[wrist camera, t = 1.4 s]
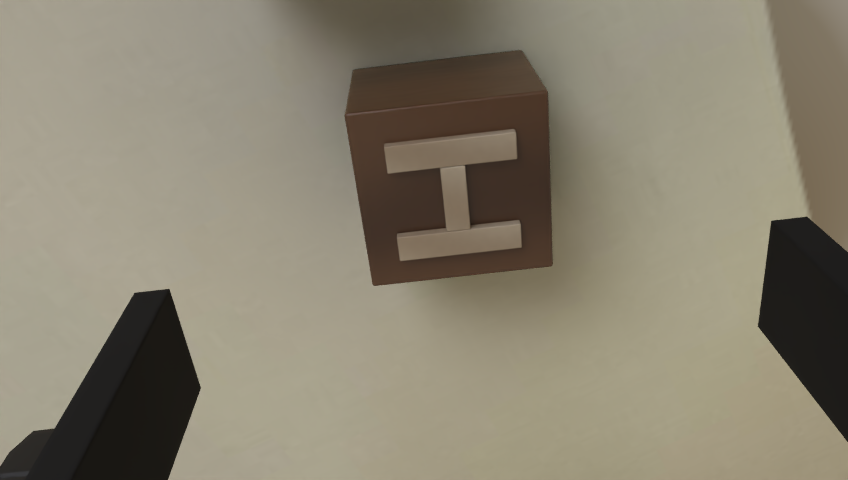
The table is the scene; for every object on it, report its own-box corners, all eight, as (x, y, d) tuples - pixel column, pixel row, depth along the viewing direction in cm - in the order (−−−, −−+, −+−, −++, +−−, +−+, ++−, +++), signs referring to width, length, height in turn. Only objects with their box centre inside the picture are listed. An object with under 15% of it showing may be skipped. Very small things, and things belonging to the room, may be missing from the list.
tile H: (352, 69, 24) (343, 117, 19) (522, 49, 24) (550, 93, 19) (375, 220, 26) (372, 292, 22) (529, 203, 26) (555, 272, 22)
